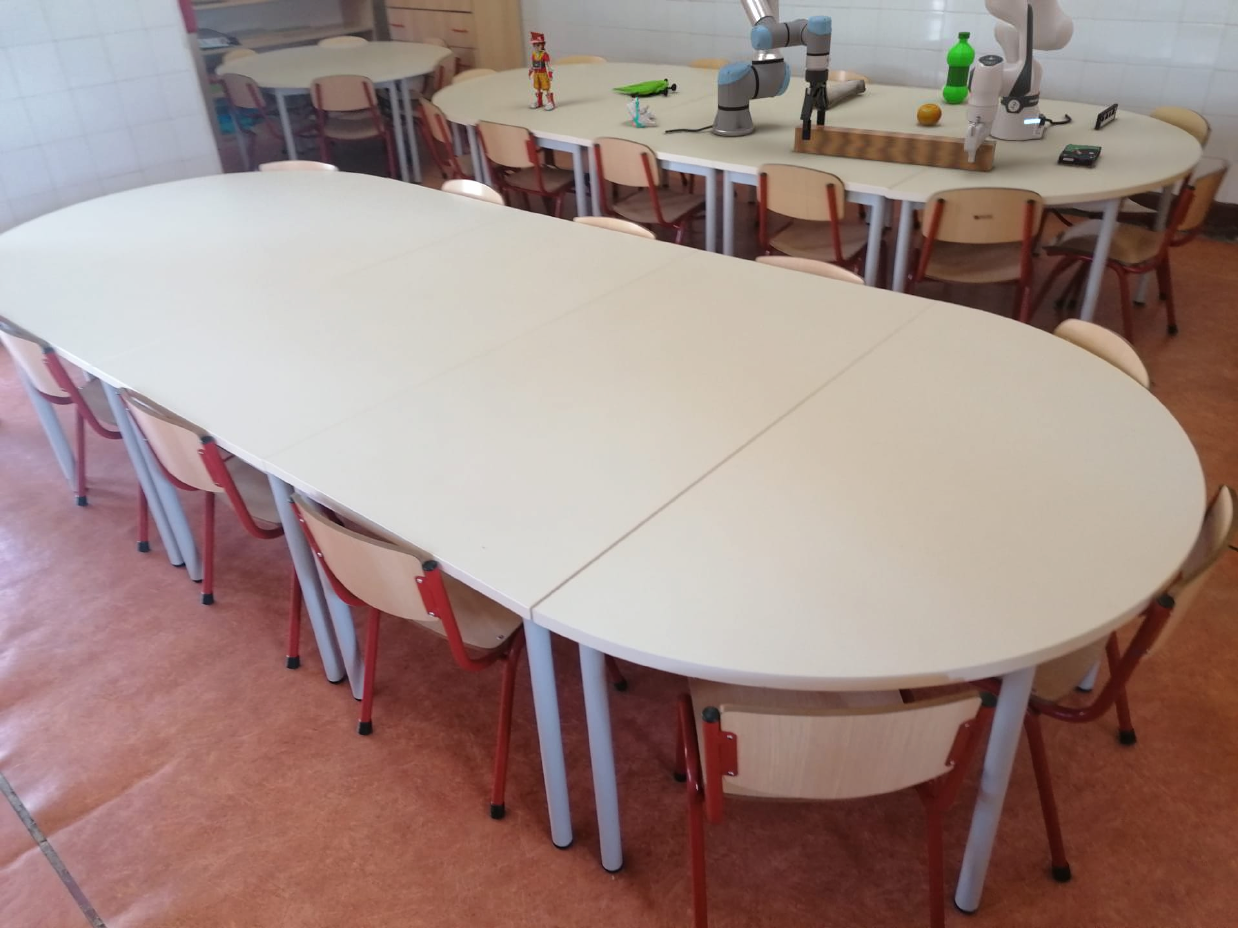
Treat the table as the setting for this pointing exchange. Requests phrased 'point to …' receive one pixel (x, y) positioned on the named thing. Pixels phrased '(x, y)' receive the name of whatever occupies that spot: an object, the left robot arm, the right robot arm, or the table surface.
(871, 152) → the bar
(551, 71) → the toy
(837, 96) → the rolled mat
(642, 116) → the anatomical model
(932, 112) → the fruit
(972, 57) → the plastic bottle
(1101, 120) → the midi keyboard
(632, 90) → the toy
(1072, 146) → the disk drive
